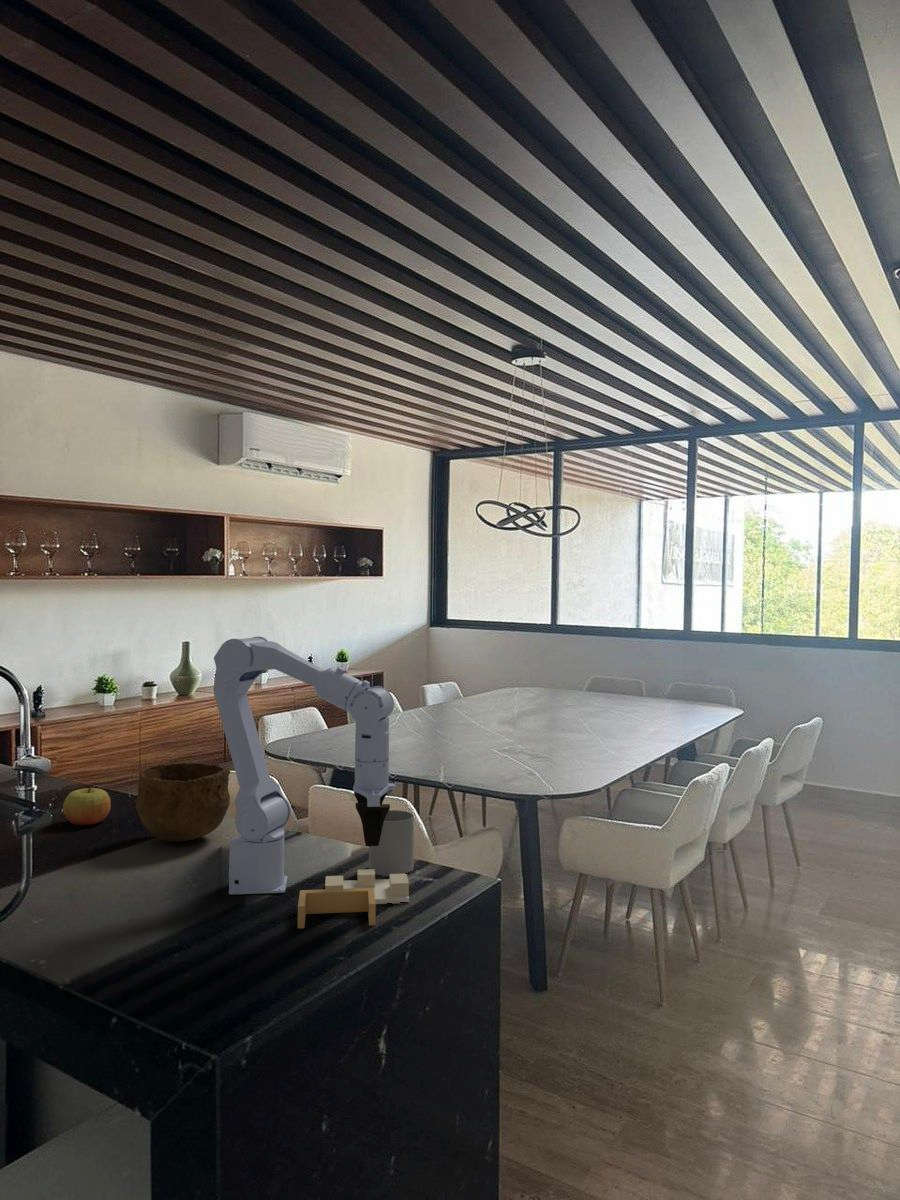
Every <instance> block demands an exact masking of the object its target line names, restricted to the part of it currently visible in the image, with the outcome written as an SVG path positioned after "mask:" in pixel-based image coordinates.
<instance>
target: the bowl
mask: <svg viewBox="0 0 900 1200" xmlns="http://www.w3.org/2000/svg"><path fill="white" fill-rule="evenodd" d="M230 773H231V770H230V768H228V767H226V766H221V765H218V764H216V763H213V764H211V763H204V762H203V763H201V762H191V761H190V762H176V763H164V764H161V763H160V764H155V765H151V766H147V767H144V768H142V769H141V770H140V772H139V776H138V778H139V779H138V787H137V788H138V792H137V797H136V802H135V809H136V811H137V814H138V816H139V819H140V820H141V823H142V826H143V827H144V828H145V829H146V830H147V831H148V832H150V834H152V835H153V836H154V837H155V838H158V839H162V840H163V841H166V842H167V841H168V842H179V843H180V842H186V841H193V840H197V839H200V838H202V837H205V836H207V835H209V834H210V833H212V832H213V831H215V830H216V829H217V828H218V827H219V826H220V825H221V824H222V822H223V820H224V819H225V816H226V814H227V811H228V809H229V806H230V804H231V795H230V791H229V781H230V779H229V778H230V777H229V776H230Z"/></svg>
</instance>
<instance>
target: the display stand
mask: <svg viewBox="0 0 900 1200" xmlns="http://www.w3.org/2000/svg"><path fill="white" fill-rule="evenodd" d="M388 877H389V878H386V879H385V878H383V879H380V878H379V879H376V874H375V869H369V868H367V869H365V868H364V869H357V880H356V879H354V880H344V875H326V876H325V883H324V885H325V887H324V889H351V888H374V894H375V903H376V905H386V904H387V903H392V904H401V903H400V902H409V903H410V891H409V890H410V882H409V878H408V873H407V874H390V875H389V876H388ZM387 905H388V904H387Z"/></svg>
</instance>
